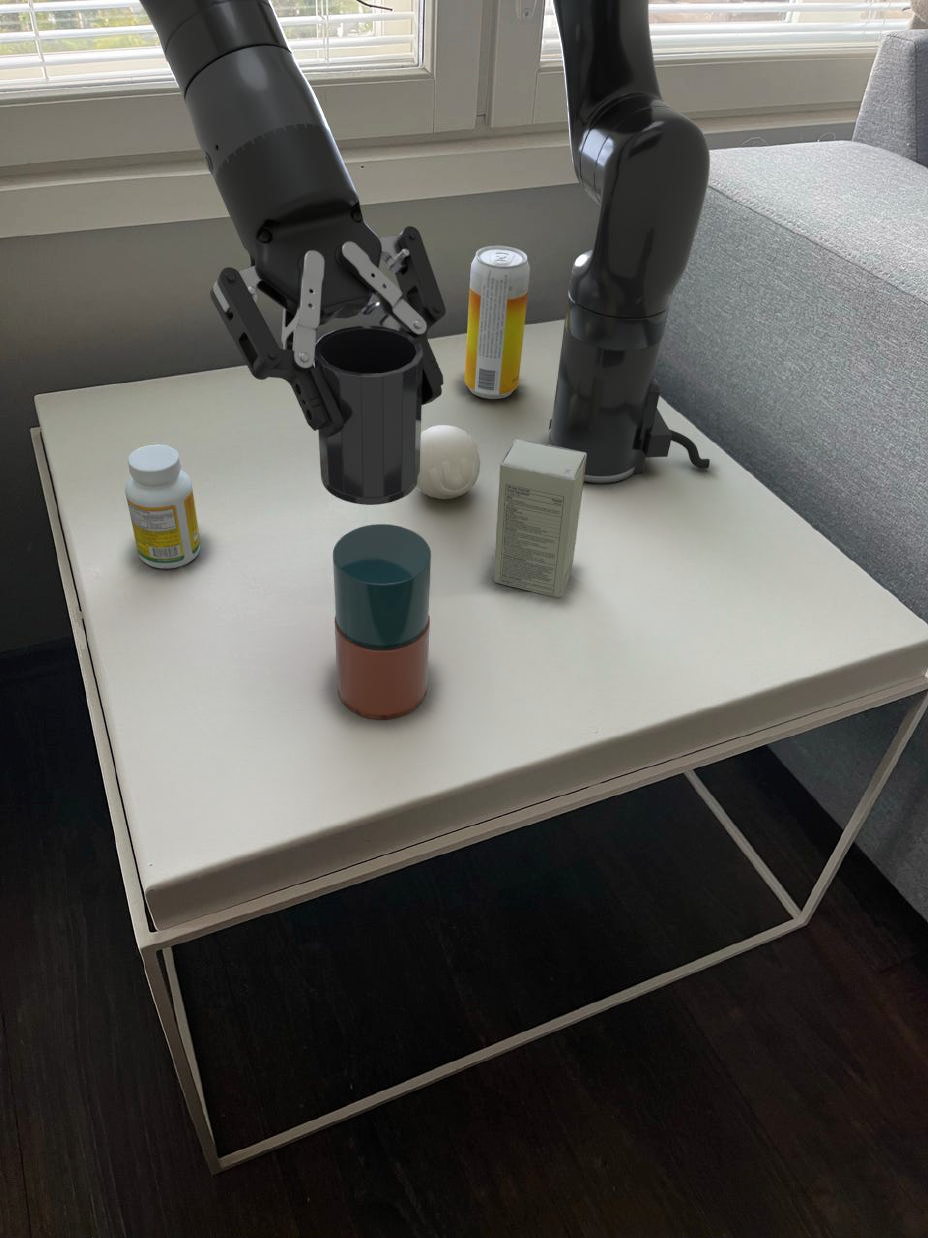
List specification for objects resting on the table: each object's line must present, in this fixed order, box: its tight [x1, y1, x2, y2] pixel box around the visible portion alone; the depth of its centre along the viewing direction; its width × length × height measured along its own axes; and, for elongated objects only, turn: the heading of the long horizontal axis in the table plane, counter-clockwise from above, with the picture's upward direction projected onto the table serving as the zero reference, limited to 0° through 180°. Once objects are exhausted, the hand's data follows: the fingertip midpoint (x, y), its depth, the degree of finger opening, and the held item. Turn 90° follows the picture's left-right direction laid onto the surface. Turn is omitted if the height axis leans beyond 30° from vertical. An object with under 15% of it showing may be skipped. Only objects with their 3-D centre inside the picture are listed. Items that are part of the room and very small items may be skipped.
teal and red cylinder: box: [332, 523, 432, 720], centre depth 70 cm, size 7×7×13 cm
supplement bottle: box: [124, 444, 202, 570], centre depth 82 cm, size 5×5×10 cm
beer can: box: [463, 245, 531, 400], centre depth 104 cm, size 6×6×15 cm
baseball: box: [416, 424, 481, 500], centre depth 91 cm, size 7×7×7 cm
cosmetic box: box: [492, 438, 587, 598], centre depth 81 cm, size 6×4×12 cm
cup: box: [314, 325, 423, 506], centre depth 61 cm, size 6×6×9 cm
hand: (384, 415), depth 59 cm, fingers closed on cup, 6 cm apart
